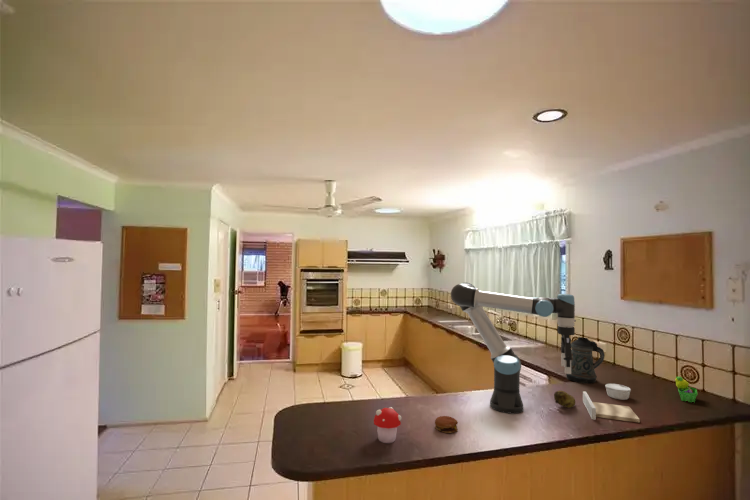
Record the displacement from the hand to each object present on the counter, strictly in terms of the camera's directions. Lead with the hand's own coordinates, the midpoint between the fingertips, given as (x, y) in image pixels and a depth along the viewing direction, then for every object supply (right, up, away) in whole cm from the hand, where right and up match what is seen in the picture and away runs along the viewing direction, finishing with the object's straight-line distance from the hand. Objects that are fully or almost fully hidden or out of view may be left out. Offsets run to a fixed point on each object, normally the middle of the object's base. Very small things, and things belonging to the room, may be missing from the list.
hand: (566, 369), depth 187 cm
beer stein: (+33, -20, +45) cm, 59 cm away
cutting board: (+18, -18, -7) cm, 27 cm away
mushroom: (-88, -15, -38) cm, 97 cm away
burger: (-63, -16, -28) cm, 71 cm away
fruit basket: (+69, -20, +14) cm, 73 cm away
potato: (0, -18, 0) cm, 18 cm away
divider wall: (+9, -18, -4) cm, 20 cm away
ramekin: (+35, -19, +15) cm, 43 cm away
